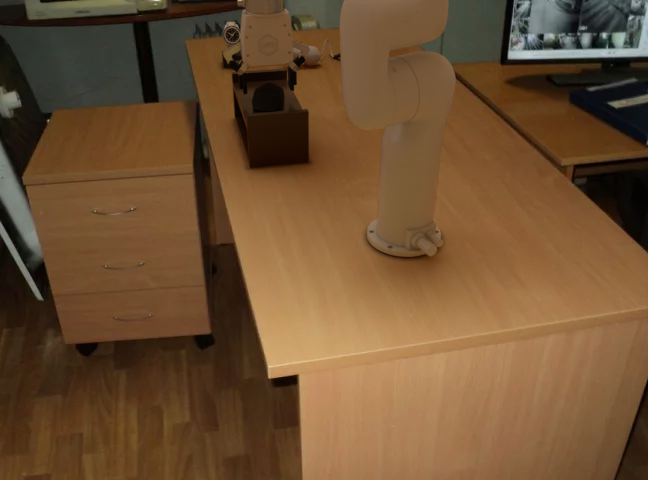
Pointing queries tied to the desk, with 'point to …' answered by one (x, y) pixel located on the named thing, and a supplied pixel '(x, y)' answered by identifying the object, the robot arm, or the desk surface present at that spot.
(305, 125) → the shelf
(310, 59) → the clip-on lamp
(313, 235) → the desk surface
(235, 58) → the watch
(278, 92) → the gaming mouse
